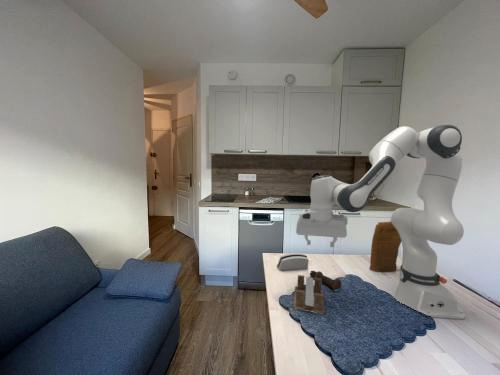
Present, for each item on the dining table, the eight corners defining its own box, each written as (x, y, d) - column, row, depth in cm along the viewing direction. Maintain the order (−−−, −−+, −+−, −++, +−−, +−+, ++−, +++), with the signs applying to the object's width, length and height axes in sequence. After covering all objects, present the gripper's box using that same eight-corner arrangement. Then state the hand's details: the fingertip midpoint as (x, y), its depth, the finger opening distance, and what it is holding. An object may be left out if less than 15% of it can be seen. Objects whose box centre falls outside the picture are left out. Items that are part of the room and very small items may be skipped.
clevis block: (322, 292, 97) (323, 277, 96) (325, 315, 82) (326, 297, 82) (295, 288, 100) (295, 273, 99) (292, 309, 86) (293, 292, 85)
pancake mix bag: (405, 272, 117) (410, 221, 114) (372, 274, 115) (376, 222, 112) (395, 266, 124) (400, 218, 121) (364, 267, 121) (368, 218, 118)
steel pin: (312, 284, 98) (313, 277, 98) (313, 306, 83) (313, 299, 82) (305, 283, 99) (306, 276, 99) (305, 304, 84) (305, 297, 83)
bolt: (312, 279, 112) (338, 293, 99) (306, 277, 109) (333, 291, 97) (316, 268, 113) (342, 280, 101) (310, 266, 110) (337, 278, 98)
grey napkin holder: (304, 264, 124) (307, 250, 120) (307, 270, 120) (311, 257, 116) (276, 266, 122) (278, 252, 117) (278, 272, 117) (280, 258, 113)
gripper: (346, 213, 92) (345, 244, 93) (296, 211, 97) (296, 241, 98) (349, 216, 86) (347, 250, 87) (296, 214, 91) (295, 246, 92)
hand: (320, 245), depth 93 cm, fingers open, 8 cm apart
